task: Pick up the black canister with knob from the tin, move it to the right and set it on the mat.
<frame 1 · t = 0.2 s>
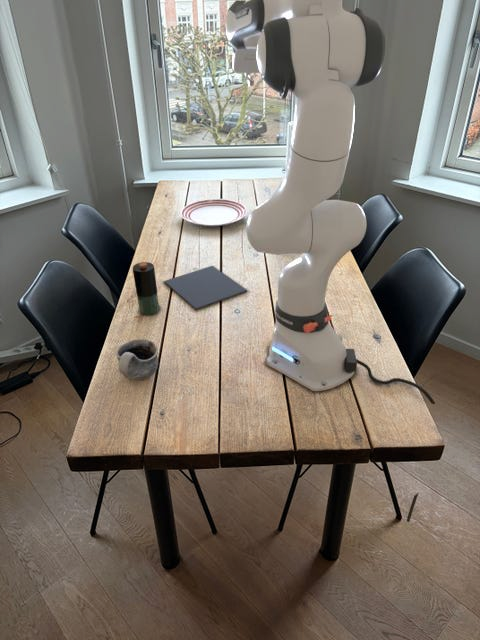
hand: (267, 84, 136), 54 cm above the table, tool tilted 30°, fingers open, 8 cm apart
tin: (149, 309, 137), on the table
black canister with knob: (147, 294, 134), point 5 cm above the table, touching tin
mat: (204, 287, 148), on the table
dinner plate: (214, 218, 196), on the table
mug: (139, 378, 112), on the table
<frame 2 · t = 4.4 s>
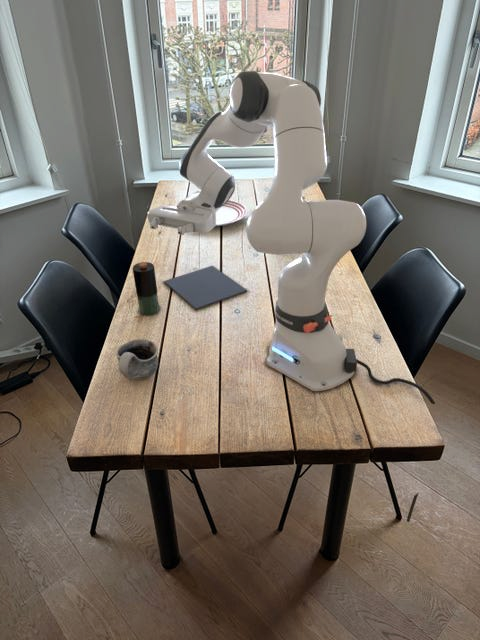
hand: (165, 229, 135), 20 cm above the table, tool horizontal, fingers open, 8 cm apart
nothing on the table moved.
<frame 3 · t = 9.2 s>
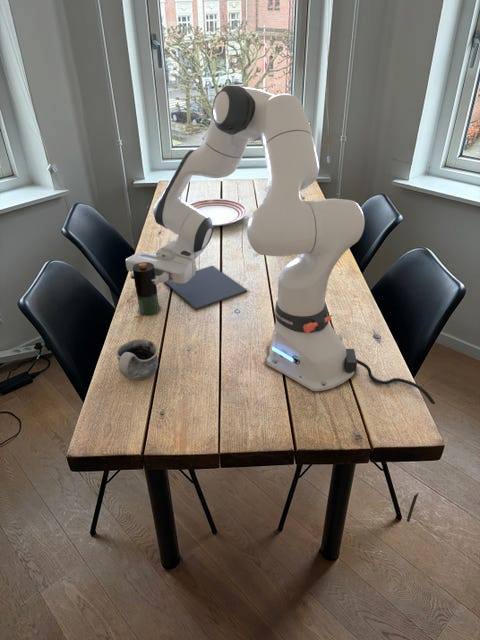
hand: (143, 279, 131), 11 cm above the table, tool horizontal, fingers closed on black canister with knob, 6 cm apart
black canister with knob: (147, 294, 134), point 5 cm above the table, touching gripper, tin
everything else where it was.
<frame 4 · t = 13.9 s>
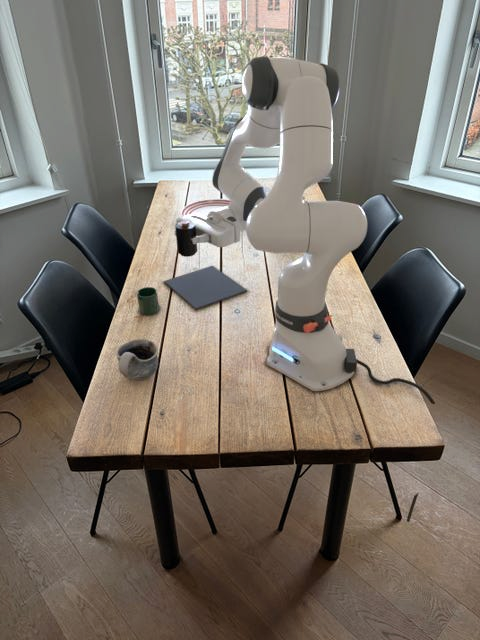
hand: (184, 237, 135), 18 cm above the table, tool horizontal, fingers closed on black canister with knob, 6 cm apart
black canister with knob: (187, 253, 139), point 13 cm above the table, touching gripper
everything else where it was.
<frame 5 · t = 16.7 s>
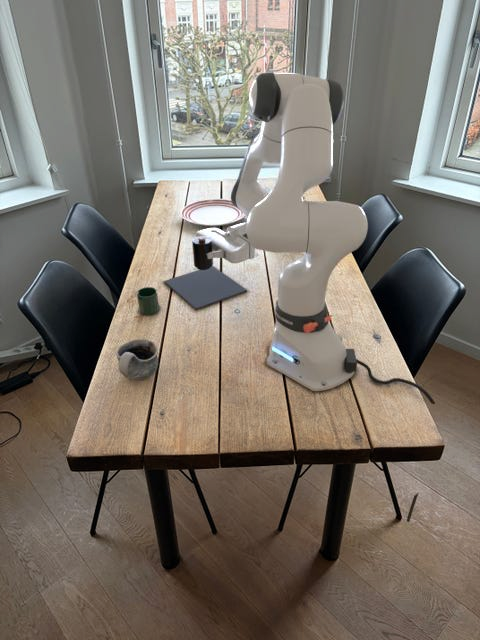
hand: (200, 251, 141), 12 cm above the table, tool horizontal, fingers closed on black canister with knob, 6 cm apart
black canister with knob: (203, 266, 144), point 7 cm above the table, touching gripper
everything else where it was.
when the fingers open (6 cm above the table, at t = 19.0 s): black canister with knob stays where it is, resting on mat.
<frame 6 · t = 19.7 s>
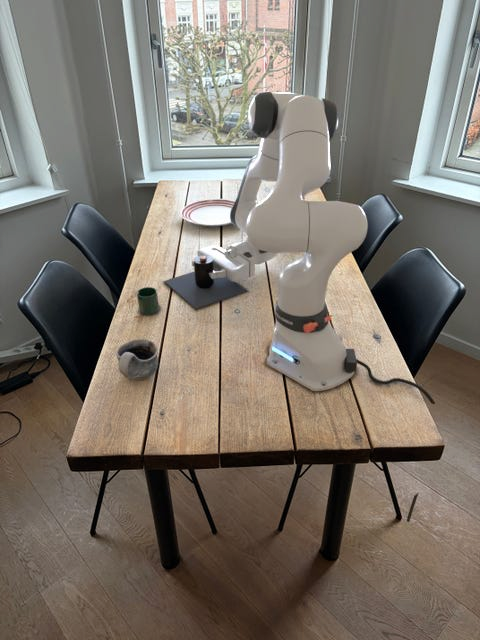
hand: (201, 270, 144), 6 cm above the table, tool horizontal, fingers open, 8 cm apart
black canister with knob: (204, 285, 148), point 1 cm above the table, touching mat
everything else where it was.
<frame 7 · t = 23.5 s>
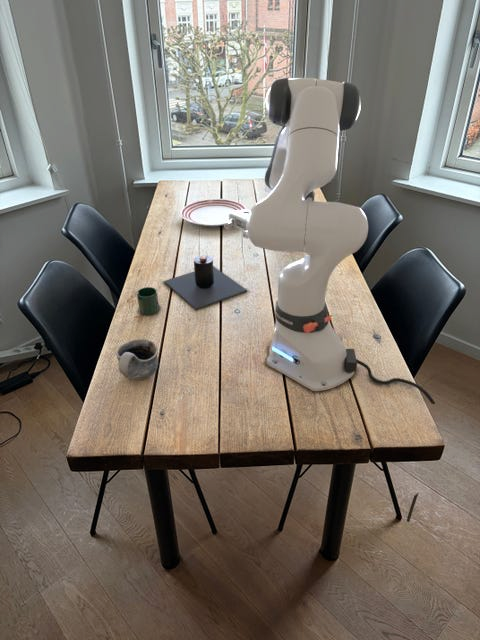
hand: (234, 230, 145), 16 cm above the table, tool horizontal, fingers open, 8 cm apart
nothing on the table moved.
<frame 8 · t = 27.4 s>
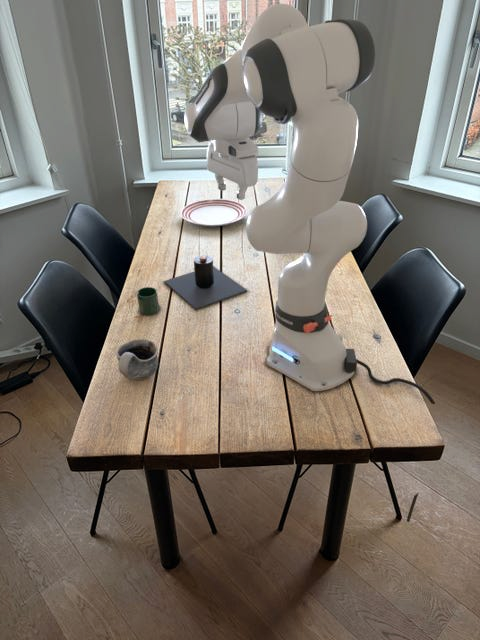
hand: (231, 194, 133), 29 cm above the table, tool pointing down, fingers open, 8 cm apart
nothing on the table moved.
at the end: black canister with knob inside the target area on the mat (0.2 cm from its centre), point 0.6 cm above the mat's base; black canister with knob tilted 0°; the gripper is holding nothing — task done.
